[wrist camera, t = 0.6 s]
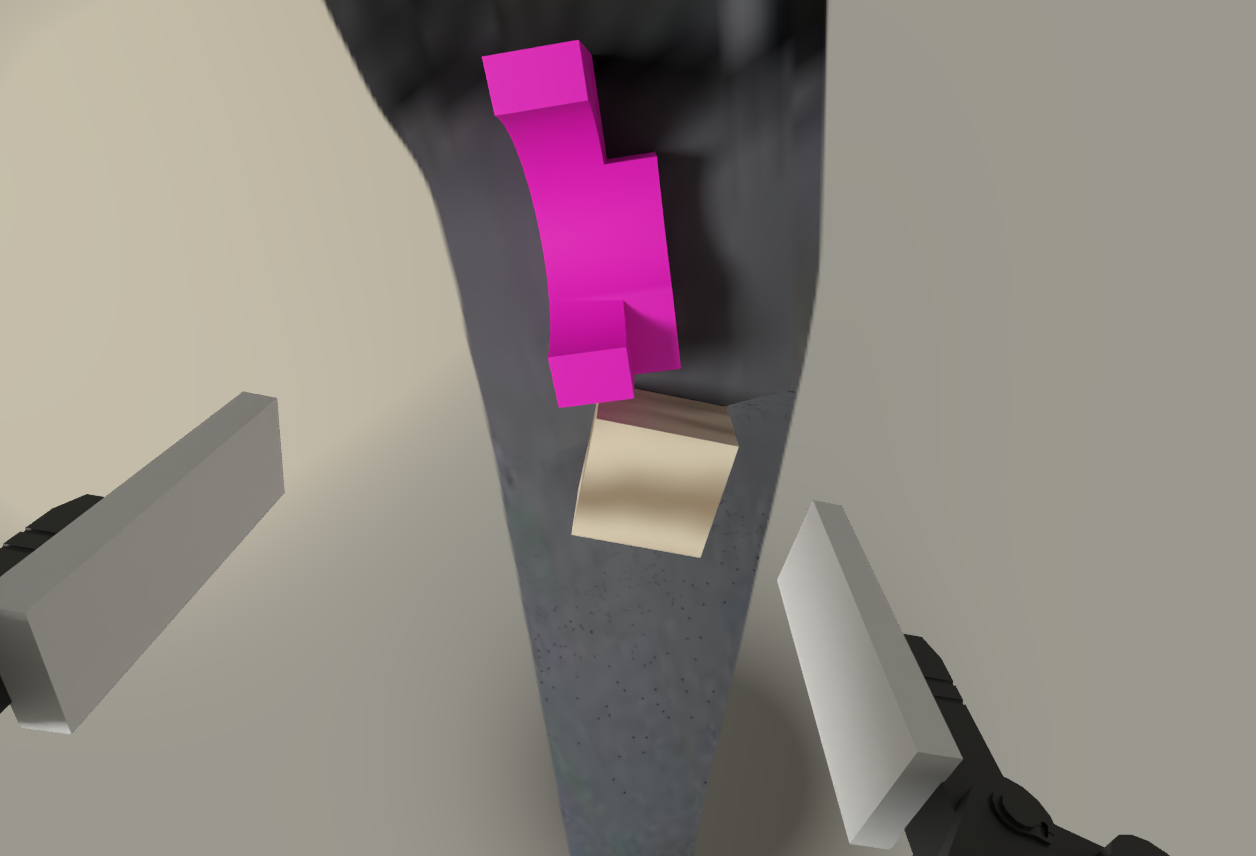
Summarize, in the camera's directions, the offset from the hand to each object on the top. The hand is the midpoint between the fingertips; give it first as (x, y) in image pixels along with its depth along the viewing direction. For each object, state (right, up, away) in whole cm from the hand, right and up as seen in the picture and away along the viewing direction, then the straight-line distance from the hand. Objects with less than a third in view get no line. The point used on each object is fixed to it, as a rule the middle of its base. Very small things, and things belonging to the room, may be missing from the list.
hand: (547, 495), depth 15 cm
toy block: (+1, +13, +18) cm, 22 cm away
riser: (+3, 0, +24) cm, 25 cm away
